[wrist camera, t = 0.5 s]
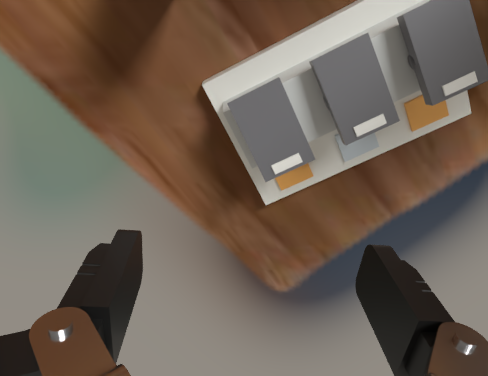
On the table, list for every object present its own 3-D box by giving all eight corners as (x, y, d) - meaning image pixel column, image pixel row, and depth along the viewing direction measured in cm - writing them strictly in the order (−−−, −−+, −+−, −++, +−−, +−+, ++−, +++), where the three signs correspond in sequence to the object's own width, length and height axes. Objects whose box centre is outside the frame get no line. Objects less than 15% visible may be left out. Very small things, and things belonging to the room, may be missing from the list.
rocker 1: (277, 77, 28) (279, 77, 27) (312, 154, 30) (315, 159, 28) (228, 102, 29) (226, 103, 27) (264, 176, 31) (265, 182, 29)
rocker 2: (450, -11, 26) (466, -17, 24) (476, 79, 28) (492, 79, 26) (393, 18, 27) (403, 14, 25) (422, 103, 29) (433, 105, 27)
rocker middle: (360, 35, 27) (368, 32, 26) (391, 118, 29) (400, 121, 27) (307, 61, 28) (311, 60, 26) (340, 141, 30) (346, 145, 28)
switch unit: (429, -37, 31) (473, -48, 25) (459, 108, 36) (500, 125, 31) (202, 81, 34) (199, 94, 29) (264, 196, 40) (270, 225, 34)
